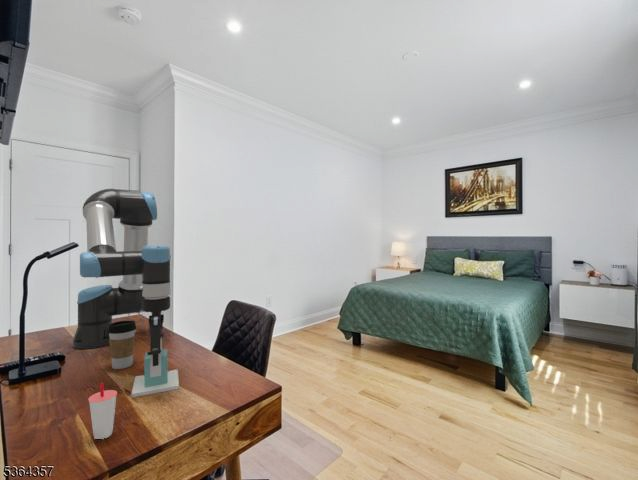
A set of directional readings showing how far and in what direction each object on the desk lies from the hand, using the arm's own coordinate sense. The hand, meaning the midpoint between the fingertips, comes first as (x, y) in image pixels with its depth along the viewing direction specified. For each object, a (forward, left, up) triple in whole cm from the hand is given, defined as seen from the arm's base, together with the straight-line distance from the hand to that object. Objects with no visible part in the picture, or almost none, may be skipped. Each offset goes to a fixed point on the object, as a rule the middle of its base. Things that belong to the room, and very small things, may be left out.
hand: (156, 366), depth 94 cm
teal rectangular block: (0, 0, -4) cm, 4 cm away
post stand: (0, 0, -5) cm, 5 cm away
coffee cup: (-20, -11, -5) cm, 23 cm away
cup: (+22, -10, -5) cm, 25 cm away
